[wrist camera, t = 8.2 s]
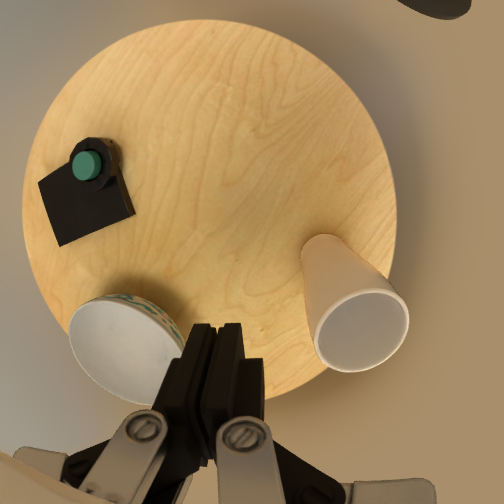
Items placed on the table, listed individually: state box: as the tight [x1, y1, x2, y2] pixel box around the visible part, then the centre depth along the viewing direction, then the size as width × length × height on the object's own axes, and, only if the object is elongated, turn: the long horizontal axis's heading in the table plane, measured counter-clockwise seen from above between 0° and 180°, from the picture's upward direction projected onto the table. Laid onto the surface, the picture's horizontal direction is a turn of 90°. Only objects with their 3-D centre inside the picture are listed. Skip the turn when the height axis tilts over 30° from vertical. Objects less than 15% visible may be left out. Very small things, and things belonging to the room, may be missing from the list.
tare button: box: [72, 151, 102, 180], centre depth 25 cm, size 3×3×2 cm
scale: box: [38, 137, 135, 247], centre depth 28 cm, size 10×13×3 cm
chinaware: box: [68, 294, 185, 405], centre depth 31 cm, size 15×15×8 cm
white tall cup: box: [300, 234, 409, 372], centre depth 24 cm, size 7×7×15 cm
